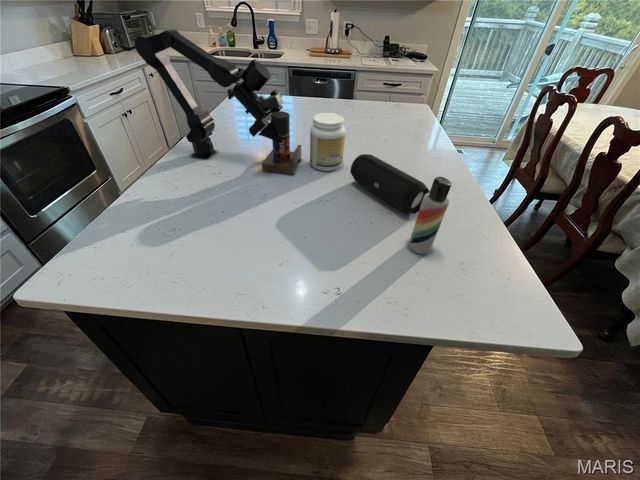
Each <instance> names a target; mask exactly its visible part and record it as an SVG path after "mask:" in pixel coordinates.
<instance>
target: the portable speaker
mask: <svg viewBox="0 0 640 480" xmlns="http://www.w3.org/2000/svg"><path fill="white" fill-rule="evenodd" d="M350 174H351V176H352V178H353V179H354V181H355V182H356V183H357V184H359V185H361V186H362V187H364V188H366V189H367V190H369V191H370V192H372V193H373V194H375V195H376V196H378V197H379V198H381V199H383V200H384V201H386V202H387V203H389V204H391V205H392V206H394V207H395V208H397V209H398V210H400V211H401V212H403V213H406V214H412V215H414V214H418V213H419V210H420V207H421V204H422V201H423V198H424V196H425V194H427V193H430V189H429V188H428V186H427V185H426V184H425V183H424V182H422V181H421V180H419V179H417V178H416V177H414V176H412V175H410V174H408V173H406V172H404V171H402V170H400V169H399V168H397V167H395V166H393V165H391V164H390V163H388V162H386V161H384V160H382V159H380V158H379V157H377V156H375V155H372V154H367V153H366V154H365V153H362V154H360V155H358V156H357V157H355V158H354V160H353V161H352V163H351V166H350Z"/></svg>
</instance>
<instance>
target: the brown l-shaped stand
mask: <svg viewBox="0 0 640 480" xmlns="http://www.w3.org/2000/svg"><path fill="white" fill-rule="evenodd" d="M301 161H302V144H298V145H297V146H296V148H295V149H294V151H291V150H290V159H289V160H287V161H277V160H275V159H274V158H273V149H271V151H270V153H268V155H267V156H266V157H265V158H264V160H263V161H262V162H261V170H262V172H267V173H271V174H272V173H273V174H280V175H285V176H293V175H294V173H295V171H294V170H295V167H296V165H297V164H298V163H301Z"/></svg>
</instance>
